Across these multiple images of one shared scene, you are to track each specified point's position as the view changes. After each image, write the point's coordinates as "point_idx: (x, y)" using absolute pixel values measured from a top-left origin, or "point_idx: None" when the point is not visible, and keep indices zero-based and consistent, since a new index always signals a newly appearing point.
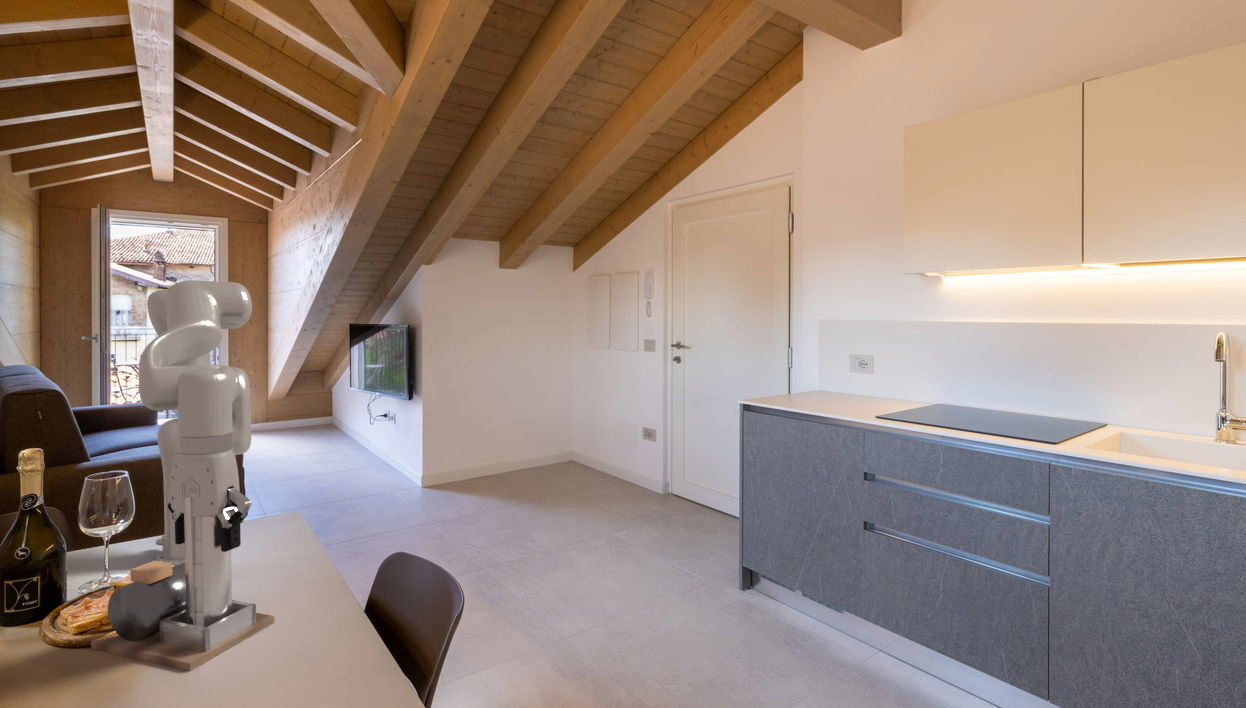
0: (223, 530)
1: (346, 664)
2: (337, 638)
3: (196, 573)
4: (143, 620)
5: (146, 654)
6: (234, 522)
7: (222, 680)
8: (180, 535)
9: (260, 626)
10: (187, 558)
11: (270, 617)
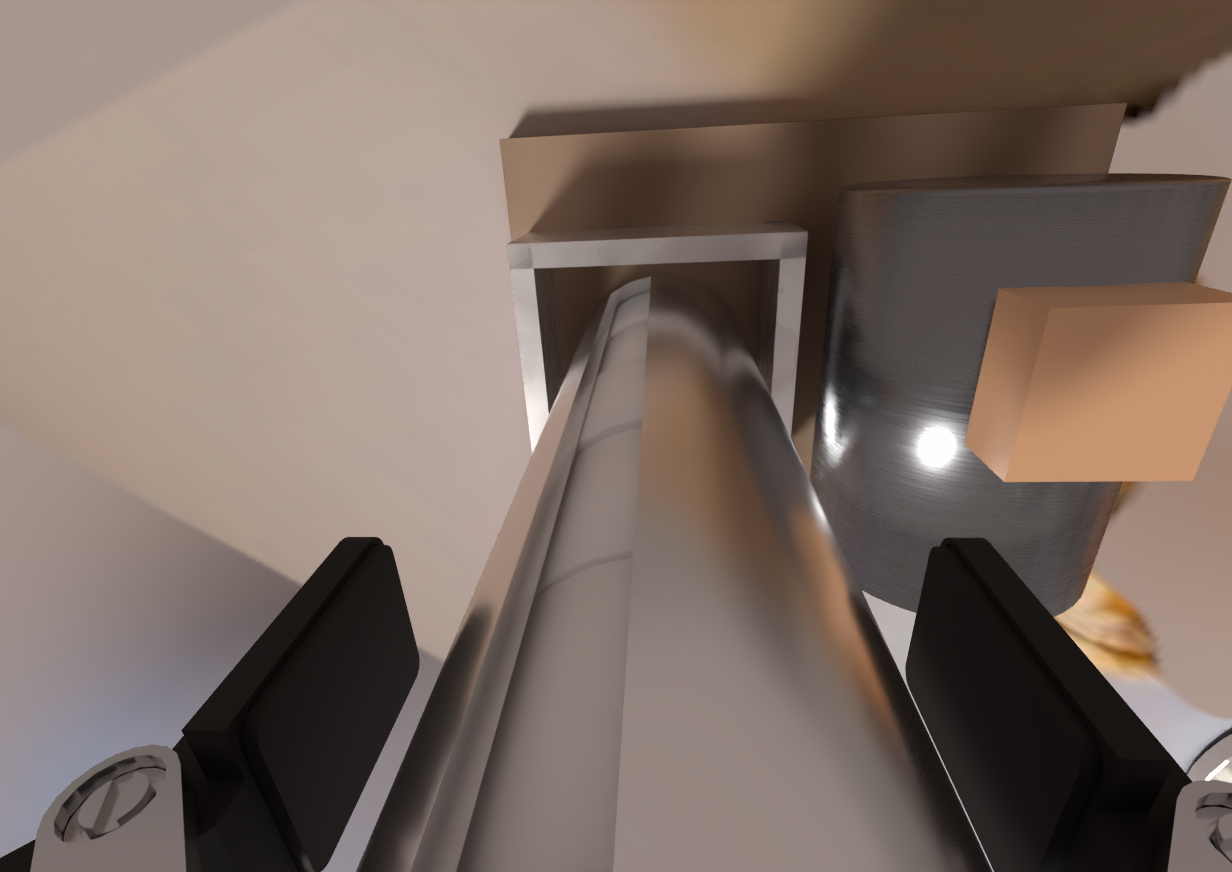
0: (208, 709)
1: (89, 377)
2: (266, 489)
3: (633, 394)
4: (879, 187)
5: (754, 125)
6: (13, 855)
7: (334, 138)
8: (971, 614)
9: None
10: (702, 422)
11: None
